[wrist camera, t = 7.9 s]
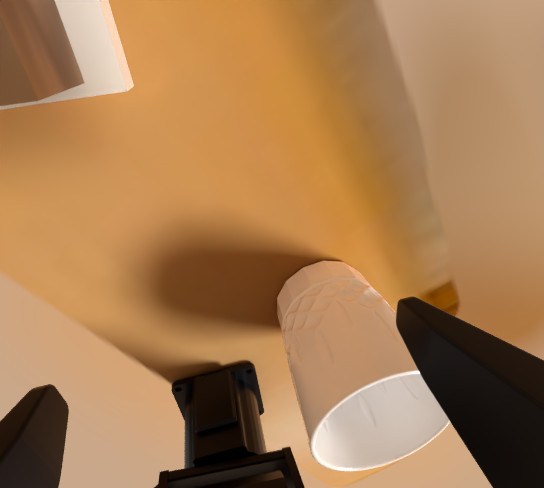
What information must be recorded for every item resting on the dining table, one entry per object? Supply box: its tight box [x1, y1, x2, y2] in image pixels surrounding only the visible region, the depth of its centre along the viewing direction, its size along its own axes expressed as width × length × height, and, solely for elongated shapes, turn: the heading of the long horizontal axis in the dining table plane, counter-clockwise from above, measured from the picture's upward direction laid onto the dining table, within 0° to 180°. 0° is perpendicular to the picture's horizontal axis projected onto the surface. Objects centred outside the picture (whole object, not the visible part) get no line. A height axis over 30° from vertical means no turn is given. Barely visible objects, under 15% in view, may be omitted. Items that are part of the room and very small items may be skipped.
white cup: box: [277, 261, 450, 471], centre depth 21 cm, size 8×8×10 cm
